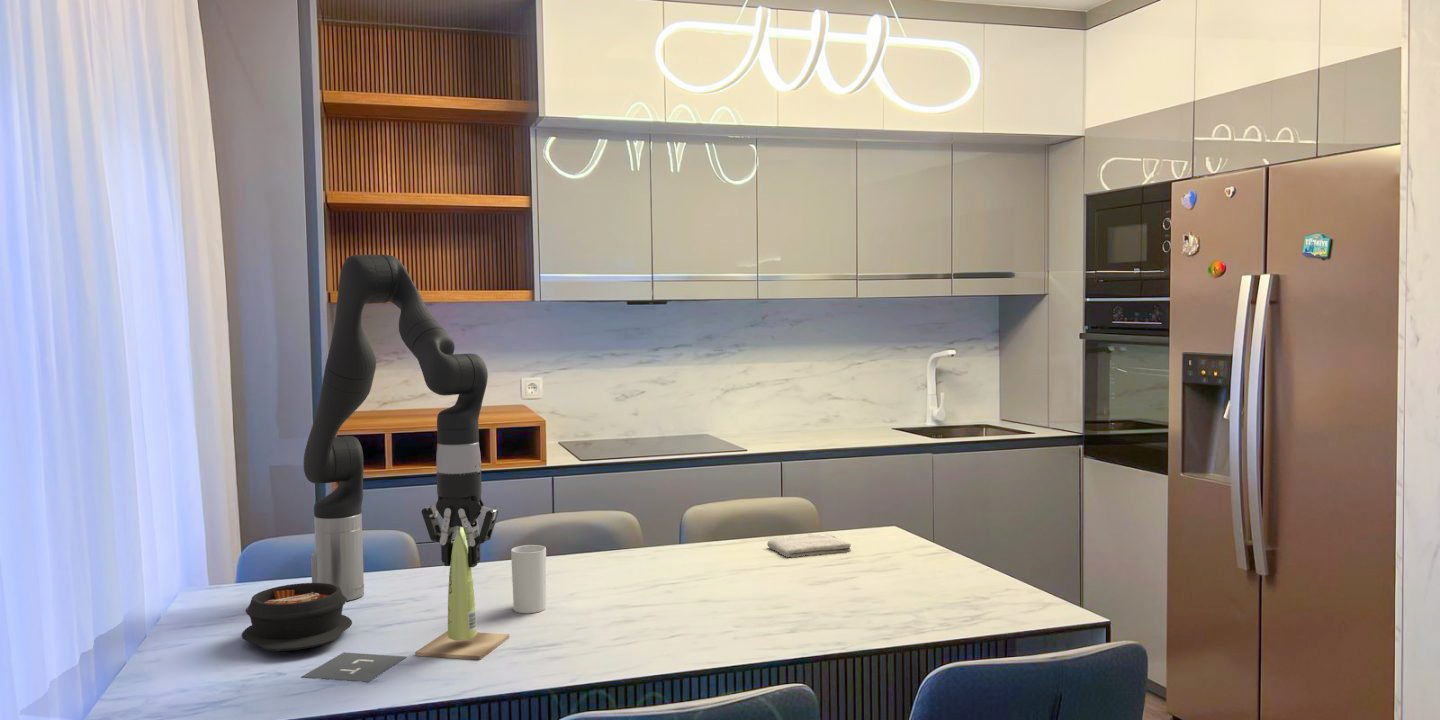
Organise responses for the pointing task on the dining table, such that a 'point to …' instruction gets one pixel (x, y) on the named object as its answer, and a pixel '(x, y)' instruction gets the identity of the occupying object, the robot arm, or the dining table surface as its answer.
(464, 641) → the cork pad
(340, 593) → the casserole
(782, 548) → the washcloth
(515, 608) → the mug
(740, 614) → the dining table surface
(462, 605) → the tube
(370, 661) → the label
